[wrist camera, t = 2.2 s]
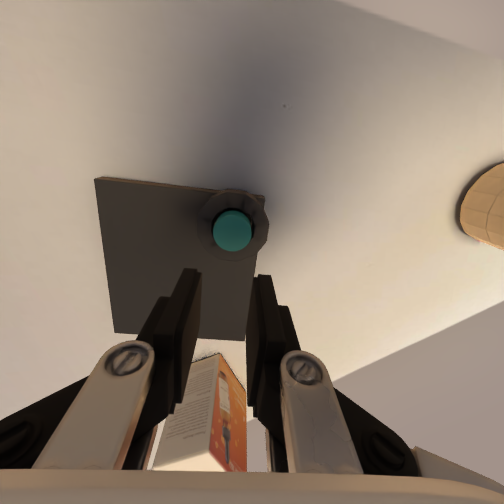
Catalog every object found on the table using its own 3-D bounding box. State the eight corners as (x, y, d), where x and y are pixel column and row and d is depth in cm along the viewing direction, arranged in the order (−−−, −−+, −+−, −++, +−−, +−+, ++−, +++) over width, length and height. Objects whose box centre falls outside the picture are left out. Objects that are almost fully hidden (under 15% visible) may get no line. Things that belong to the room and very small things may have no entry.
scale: (102, 171, 20) (80, 174, 18) (269, 191, 22) (273, 197, 19) (120, 324, 27) (106, 344, 24) (248, 332, 28) (249, 353, 25)
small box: (246, 391, 32) (249, 496, 22) (209, 404, 33) (196, 510, 23) (220, 351, 29) (209, 452, 19) (179, 365, 30) (149, 470, 20)
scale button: (216, 208, 19) (214, 213, 18) (252, 212, 20) (253, 217, 18) (213, 242, 21) (211, 249, 19) (248, 246, 21) (249, 253, 19)
